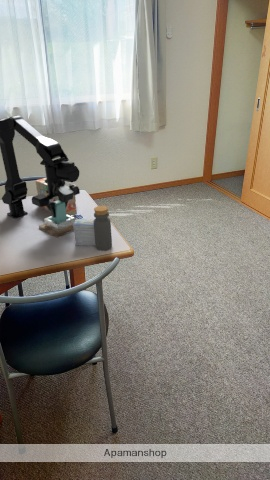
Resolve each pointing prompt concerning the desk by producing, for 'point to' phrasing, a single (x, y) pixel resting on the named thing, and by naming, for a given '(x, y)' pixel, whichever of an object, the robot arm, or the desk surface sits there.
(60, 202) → the teal block
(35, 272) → the desk surface
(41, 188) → the stack of blocks
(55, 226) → the frame
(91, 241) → the medicine box
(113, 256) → the desk surface
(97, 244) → the bottle
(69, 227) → the base board
